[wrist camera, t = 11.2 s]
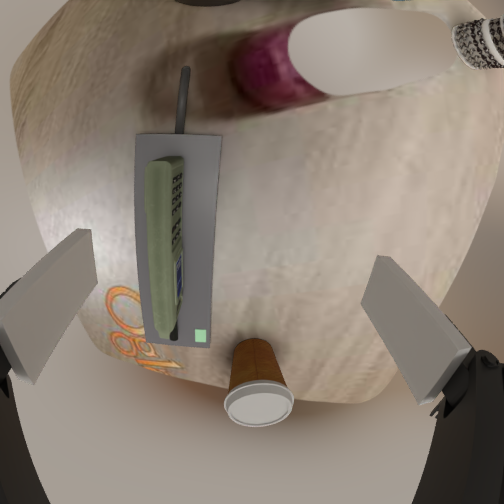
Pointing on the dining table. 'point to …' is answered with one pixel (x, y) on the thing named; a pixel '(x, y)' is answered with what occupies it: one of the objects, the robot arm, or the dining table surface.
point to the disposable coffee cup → (257, 386)
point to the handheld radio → (165, 241)
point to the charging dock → (193, 224)
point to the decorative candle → (480, 43)
